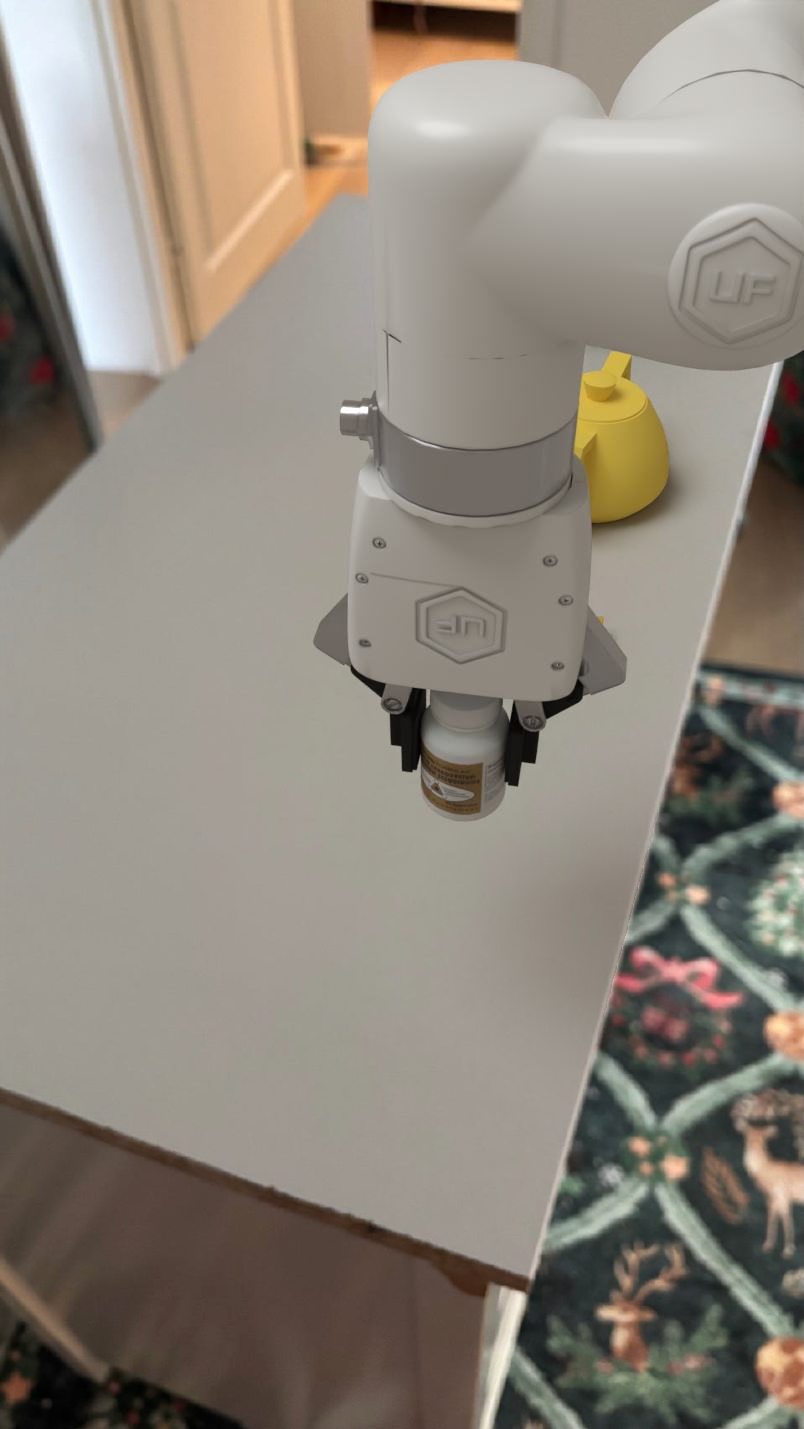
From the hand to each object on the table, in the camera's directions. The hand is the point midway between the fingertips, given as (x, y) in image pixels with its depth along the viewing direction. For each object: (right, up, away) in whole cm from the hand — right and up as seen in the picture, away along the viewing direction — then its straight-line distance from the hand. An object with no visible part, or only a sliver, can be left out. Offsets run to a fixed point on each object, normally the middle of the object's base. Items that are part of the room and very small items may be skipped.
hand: (464, 755), depth 54 cm
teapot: (+12, +24, +47) cm, 54 cm away
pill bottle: (0, -2, +2) cm, 3 cm away
